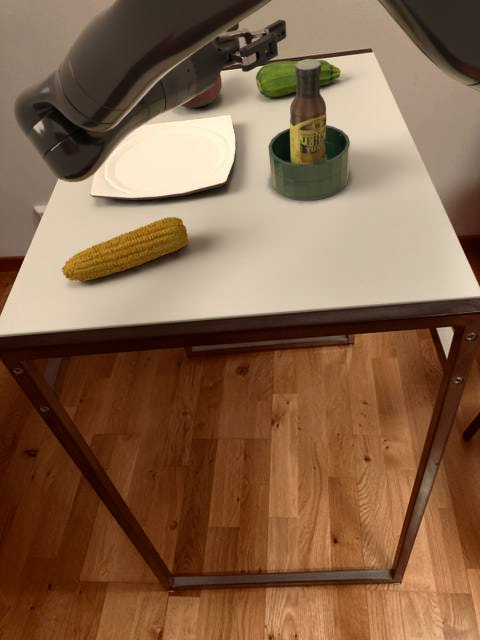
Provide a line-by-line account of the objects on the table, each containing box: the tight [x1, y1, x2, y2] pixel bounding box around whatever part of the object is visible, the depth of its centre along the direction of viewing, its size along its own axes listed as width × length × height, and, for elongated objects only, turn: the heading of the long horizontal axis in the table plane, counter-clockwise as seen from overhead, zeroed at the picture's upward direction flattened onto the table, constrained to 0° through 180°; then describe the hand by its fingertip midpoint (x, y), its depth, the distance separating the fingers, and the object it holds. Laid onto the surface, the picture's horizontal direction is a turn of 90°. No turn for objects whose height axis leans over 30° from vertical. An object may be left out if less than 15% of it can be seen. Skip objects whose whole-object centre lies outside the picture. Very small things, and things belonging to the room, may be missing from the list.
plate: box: [89, 114, 237, 201], centre depth 104 cm, size 29×29×3 cm
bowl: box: [180, 74, 223, 108], centre depth 120 cm, size 16×13×8 cm
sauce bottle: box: [289, 58, 327, 164], centre depth 87 cm, size 6×6×20 cm
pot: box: [268, 124, 351, 202], centre depth 92 cm, size 14×14×7 cm
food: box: [61, 216, 189, 282], centre depth 83 cm, size 21×6×6 cm, turn 113°
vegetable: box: [255, 59, 342, 99], centre depth 117 cm, size 7×7×20 cm
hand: (259, 23), depth 69 cm, fingers open, 8 cm apart
